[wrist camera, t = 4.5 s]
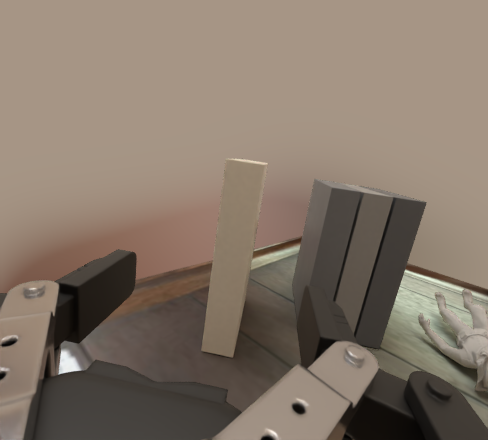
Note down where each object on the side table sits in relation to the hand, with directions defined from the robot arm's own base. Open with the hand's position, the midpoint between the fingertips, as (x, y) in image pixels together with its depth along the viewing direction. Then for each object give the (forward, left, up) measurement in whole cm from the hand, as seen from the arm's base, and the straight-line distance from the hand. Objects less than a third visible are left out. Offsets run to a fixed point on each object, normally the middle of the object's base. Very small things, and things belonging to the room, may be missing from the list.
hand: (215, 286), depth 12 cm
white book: (+5, +8, -8) cm, 12 cm away
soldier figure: (+26, -4, -7) cm, 28 cm away
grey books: (+16, +6, -8) cm, 19 cm away
